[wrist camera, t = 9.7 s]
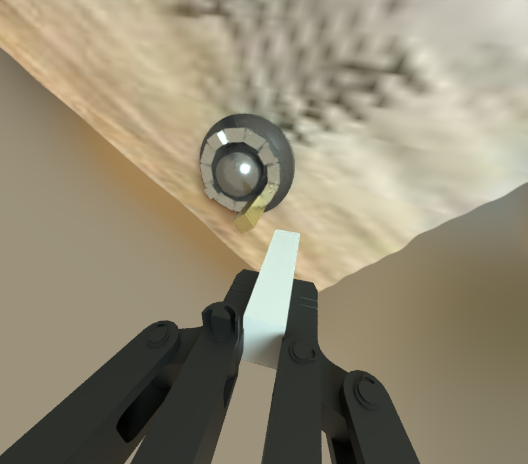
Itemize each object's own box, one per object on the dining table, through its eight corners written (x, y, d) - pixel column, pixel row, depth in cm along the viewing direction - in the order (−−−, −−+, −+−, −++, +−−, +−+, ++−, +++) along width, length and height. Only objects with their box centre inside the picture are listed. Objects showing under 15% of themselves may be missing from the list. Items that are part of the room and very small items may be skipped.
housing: (192, 125, 39) (169, 127, 33) (287, 102, 34) (281, 99, 28) (219, 214, 47) (204, 228, 41) (299, 206, 42) (296, 221, 36)
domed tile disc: (237, 217, 43) (213, 247, 33) (194, 156, 39) (152, 169, 29) (296, 185, 37) (289, 210, 27) (254, 108, 33) (226, 105, 23)
